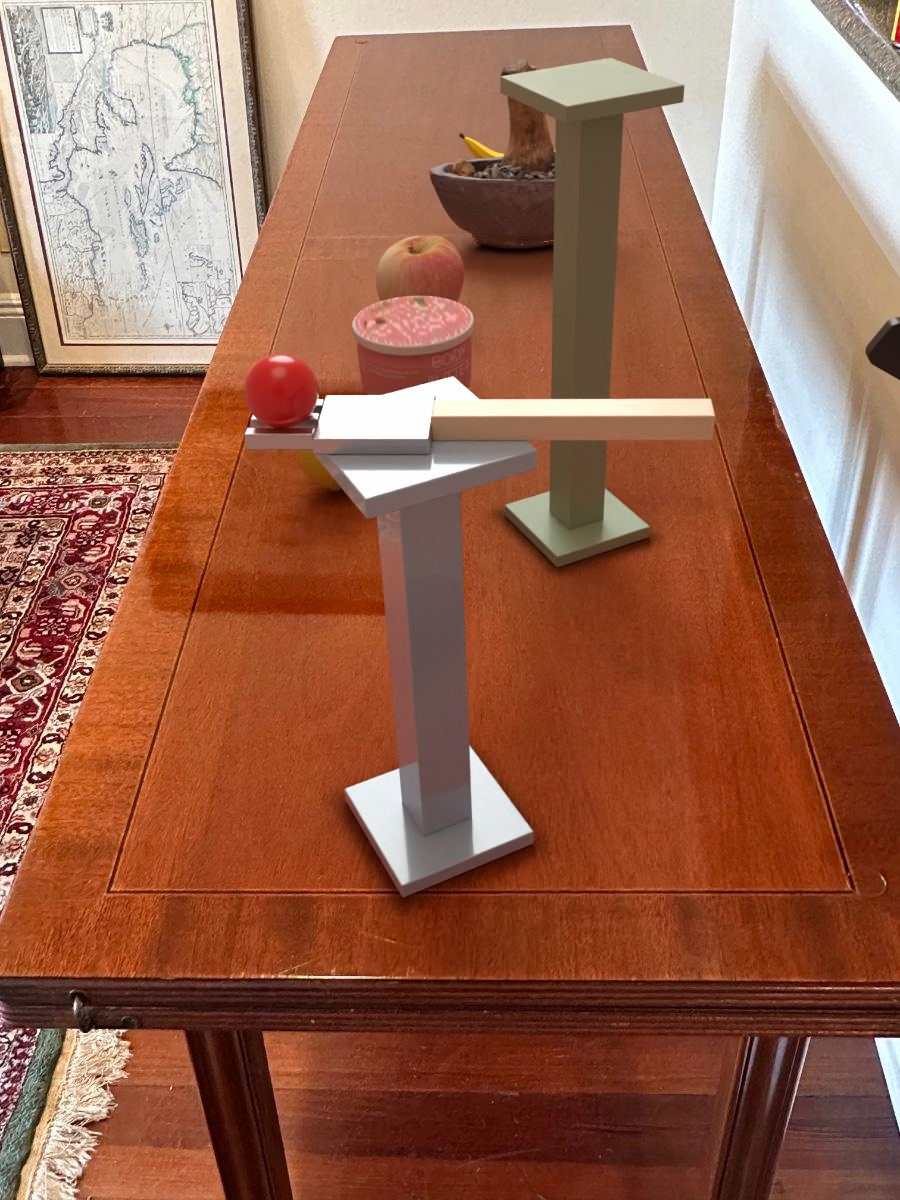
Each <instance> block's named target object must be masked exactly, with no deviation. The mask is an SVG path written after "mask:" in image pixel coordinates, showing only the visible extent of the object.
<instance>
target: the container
mask: <svg viewBox="0 0 900 1200" xmlns="http://www.w3.org/2000/svg"><path fill="white" fill-rule="evenodd" d="M351 328H352V336H353V338H354V340H355V341H356V351H357V352H356V353H357V357H358V358H357V359H358V366H359V372H360V379H361V386H362V388H363V390H364V392H365V395H383V394H387V393H391V392H395V391H399V390H403V389H406V388H410V387H414V386H418V385H422V384H426V383H430V382H433V381H437V380H441V379H445V378H449V377H455V378H456V379H457V380H458V381H460V382H461V383H462V384H463V385H464V386H465V387H466V388H467V389H469V387H470V385H471V384H470V383H471V380H472V351H473V350H472V347H473V346H472V343H473V342H472V335H473V332H474V329H475V319H474V314H473V312H472V311H471V310H470V309H469V308H468V307H466V306H465V304H462V303H460V302H459V301H457V302H456V301H453V300H450V299H445V298H441V297H433V296H405V297H397V298H392V299H387V300H383V301H380V300H379V301H377V302H374V303H373V304H370V305H368V306H366V307H364V308H363V309H361V310H360V311H359V312H358V313H357V314H355V316H354V318H353V320H352V325H351Z"/></svg>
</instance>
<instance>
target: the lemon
mask: <svg viewBox="0 0 900 1200" xmlns="http://www.w3.org/2000/svg"><path fill="white" fill-rule="evenodd" d="M295 454H296V458H297V462H298V465H299V467H300V469H301V471H302V474H304V475H305V477H306V478H307V479H308V480H309V481H311V482H312V483H314V485H316V486H319V487H322V488H325V489H330V490H331V491H334V492H337V491H339V490H341V489H342V488H341V487H340V485H339V484H338V483H337V482H336V481H335V479H334V478H333V477H332V476H331V475H330V473H329V472H328V471H327V470H326V468H325V467H324V466H323V465H322V464H321V462H320V461H319V460H318V459H317V457H316V456H315V455H314V454H313V453H312V451H311V450H295Z"/></svg>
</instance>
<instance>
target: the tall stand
mask: <svg viewBox="0 0 900 1200" xmlns="http://www.w3.org/2000/svg"><path fill="white" fill-rule="evenodd" d="M499 78H500V79H499V83H500V85H499V86H500V89H499V90H500V94H502V95H504V96H506V97H507V96H508V97H510V98H512V99H515V100H517V101H519V102H521V103H523V104H525V105H527V106H530V107H532V108H534V109H536V110H538V111H540V112H542V113H545V115H547V116H549V117H551V118H553V119H554V120H555V132H554V133H555V138H554V139H555V141H554V149H555V193H554V245H553V253H552V254H553V258H552V259H553V260H552V261H553V262H552V263H553V264H552V266H553V267H552V314H551V315H552V317H551V318H552V319H551V323H552V325H551V326H552V327H551V380H550V381H551V382H550V383H551V384H550V391H551V392H550V399H611V398H610V397H611V396H610V395H611V376H612V358H613V357H612V354H613V337H614V336H613V333H614V315H615V295H616V278H617V277H616V275H617V257H618V256H617V254H618V253H617V251H618V236H619V235H618V233H619V213H620V195H621V193H620V192H621V176H622V175H621V173H622V172H621V171H622V154H623V153H622V151H623V133H624V114H630V113H633V112H639V111H644V110H650V109H655V108H660V107H665V106H666V107H667V106H670V105H676V104H682V103H683V102H684V100H685V99H684V97H685V85H684V84H682V83H680V82H677V81H674V80H672V79H668V78H667V77H663V76H661V75H658V74H656V73H653V72H650V71H648V70H644V69H642V68H639V67H636V66H634V65H631V64H629V63H625V62H623V61H620V60H618V59H615V58H612V57H607V58H602V59H596V60H595V59H594V60H590V61H589V60H588V61H583V62H577V63H571V64H566V65H560V66H553V67H548V68H542V69H536V71H530V72H524V73H518V74H512V75H506V76H501V75H500V77H499ZM549 441H550V442H549V444H550V445H549V450H550V451H549V490H548V491H546V492H542V493H539V494H535V495H533V496H529V497H525V498H522V499H520V500H516V501H513V502H510V503H506V504H504V516H505V517H506V518H507V519H508V520H509V521H510V522H511V523H512V524H513V525H514V526H515V527H516V528H517V529H518V530H519V531H520V532H521V533H522V534H523V535H524V536H525V537H526V538H527V539H528V540H529V541H530V542H531V543H532V544H533V545H534V546H535V547H536V548H537V549H538V550H539V551H540V552H541V553H542V554H543V555H545V557H546V558H547V559H548V560H549V561H550V562H551V563H552V564H553V565H554V566H555V567H556V568H561V567H563V566H566V565H569V564H572V563H576V562H578V561H582V560H585V559H588V558H590V557H593V556H597V555H600V554H602V553H606V552H609V551H612V550H615V549H619V548H621V547H624V546H627V545H630V544H632V543H636V542H639V541H642V540H645V539H648V538H650V532H651V526H650V525H649V524H648V523H647V522H645V521H644V520H643V519H642V518H641V517H639V515H637V514H636V513H635V512H634V511H633V510H632V509H630V508H629V506H627V505H626V504H625V503H623V502H622V501H621V500H620V499H619V498H618V497H616V496H615V495H614V493H612V492H610V491H609V490H608V488H606V480H607V479H606V478H607V476H606V475H607V458H608V457H607V455H608V440H549Z"/></svg>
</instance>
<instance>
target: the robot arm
mask: <svg viewBox="0 0 900 1200" xmlns="http://www.w3.org/2000/svg"><path fill="white" fill-rule="evenodd" d="M865 355H866V358H867V359H868V361H869V363H870V364H871V365H872V366H874V367H876V368H877V369H879V370H881V371H883V372H885V373H886V374H888V375H889V376H891V377H894V378H895V379H896V380H899V381H900V316H894V317H891V318H889V319H887V321H886V322H884V324H883V325H882V327H880V329H879V330H878V331H877V332H876V334H875V335H874V337H872V339H871V340H870V341H869V342H868V343H867V345H866V347H865Z"/></svg>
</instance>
